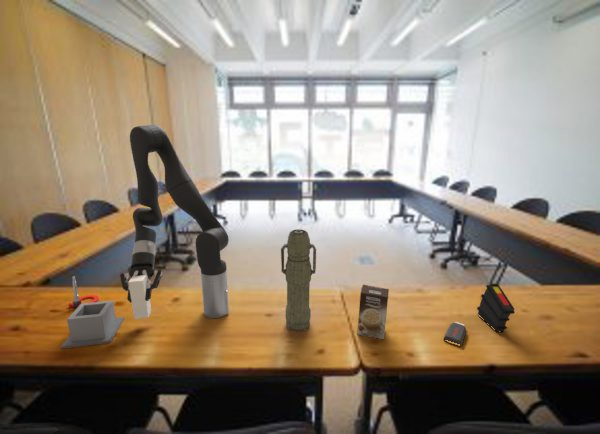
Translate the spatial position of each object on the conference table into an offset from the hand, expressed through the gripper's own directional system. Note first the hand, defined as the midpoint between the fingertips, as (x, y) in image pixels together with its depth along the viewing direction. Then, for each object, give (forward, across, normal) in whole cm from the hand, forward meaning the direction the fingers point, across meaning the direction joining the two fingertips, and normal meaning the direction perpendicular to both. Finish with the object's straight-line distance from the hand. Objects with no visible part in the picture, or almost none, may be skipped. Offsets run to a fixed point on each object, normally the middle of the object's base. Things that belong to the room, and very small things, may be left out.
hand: (139, 300), depth 106 cm
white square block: (+3, 0, +6) cm, 7 cm away
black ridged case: (+25, +123, -6) cm, 125 cm away
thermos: (+14, +54, +3) cm, 55 cm away
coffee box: (+21, +78, -4) cm, 81 cm away
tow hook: (-9, -28, +24) cm, 38 cm away
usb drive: (+27, +106, -8) cm, 109 cm away
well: (+7, -15, +8) cm, 19 cm away
